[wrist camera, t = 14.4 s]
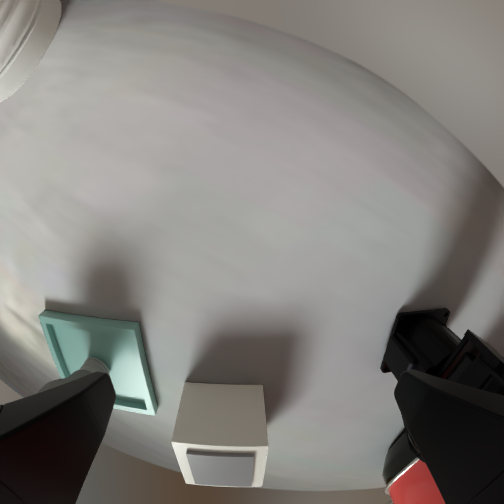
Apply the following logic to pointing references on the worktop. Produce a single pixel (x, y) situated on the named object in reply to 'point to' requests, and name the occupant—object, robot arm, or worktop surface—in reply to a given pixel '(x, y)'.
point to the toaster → (408, 477)
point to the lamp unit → (221, 435)
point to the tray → (103, 354)
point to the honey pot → (24, 39)
